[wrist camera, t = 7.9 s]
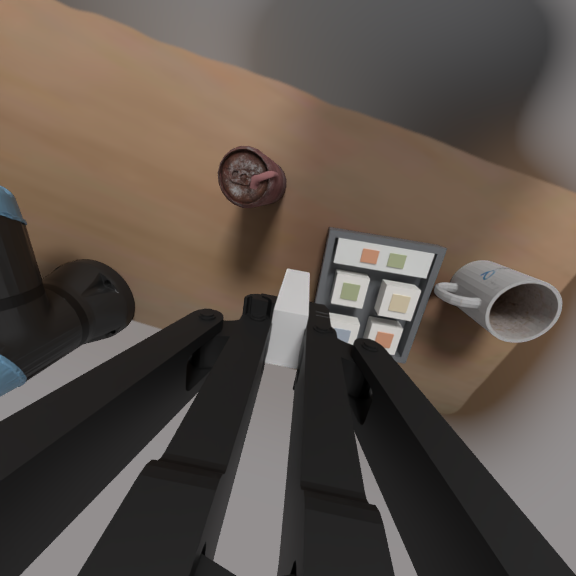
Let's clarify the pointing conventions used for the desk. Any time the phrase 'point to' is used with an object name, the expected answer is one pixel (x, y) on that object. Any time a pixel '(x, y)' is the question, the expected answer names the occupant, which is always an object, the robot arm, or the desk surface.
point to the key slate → (345, 327)
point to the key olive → (349, 288)
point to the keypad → (380, 275)
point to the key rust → (384, 333)
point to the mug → (503, 300)
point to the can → (250, 178)
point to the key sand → (397, 300)
